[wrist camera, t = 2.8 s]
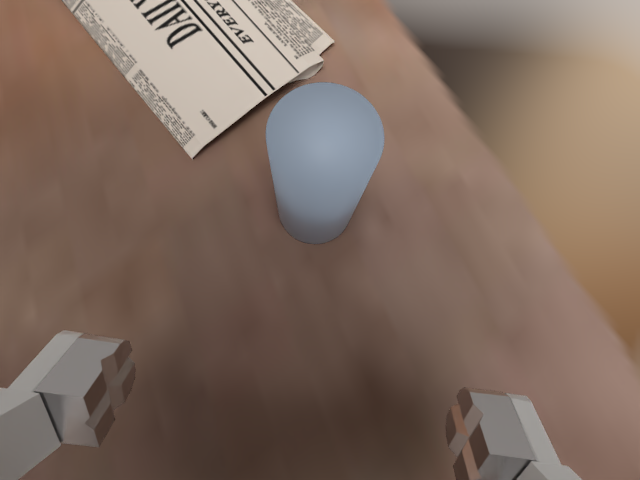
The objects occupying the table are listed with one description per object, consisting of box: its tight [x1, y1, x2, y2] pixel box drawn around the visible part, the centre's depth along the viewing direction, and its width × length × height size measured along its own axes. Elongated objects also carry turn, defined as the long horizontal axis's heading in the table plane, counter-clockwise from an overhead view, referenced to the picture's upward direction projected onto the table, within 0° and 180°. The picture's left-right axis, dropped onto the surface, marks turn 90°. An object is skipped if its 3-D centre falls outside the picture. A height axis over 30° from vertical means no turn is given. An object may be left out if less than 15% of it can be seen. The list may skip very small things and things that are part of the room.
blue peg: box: [266, 82, 384, 244], centre depth 18 cm, size 4×4×9 cm
